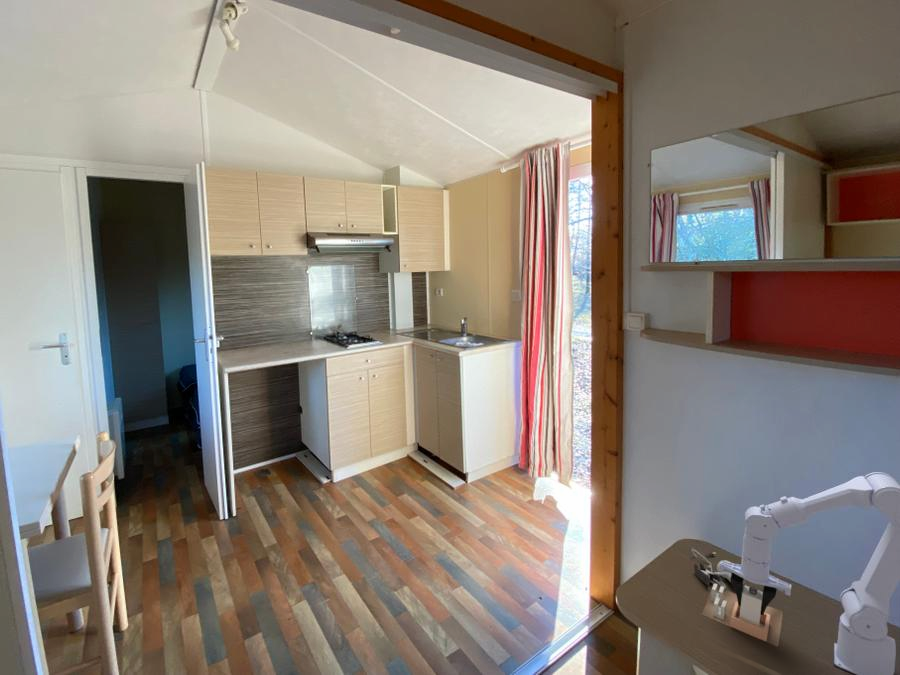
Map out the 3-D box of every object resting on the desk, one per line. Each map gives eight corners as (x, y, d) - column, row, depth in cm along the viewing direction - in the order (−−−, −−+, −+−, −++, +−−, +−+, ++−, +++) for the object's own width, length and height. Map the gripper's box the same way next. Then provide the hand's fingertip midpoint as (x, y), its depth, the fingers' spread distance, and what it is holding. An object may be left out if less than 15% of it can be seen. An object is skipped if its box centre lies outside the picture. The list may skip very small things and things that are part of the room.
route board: (783, 615, 117) (783, 611, 117) (777, 650, 105) (778, 646, 105) (712, 588, 127) (713, 585, 127) (701, 618, 116) (701, 614, 115)
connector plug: (760, 618, 112) (764, 588, 111) (758, 627, 109) (762, 597, 108) (741, 610, 114) (744, 581, 113) (739, 619, 111) (742, 589, 110)
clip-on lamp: (683, 566, 142) (705, 591, 125) (681, 545, 143) (702, 567, 125) (723, 566, 140) (751, 592, 123) (721, 545, 141) (748, 567, 123)
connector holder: (769, 623, 112) (770, 614, 112) (766, 641, 107) (767, 631, 106) (734, 610, 117) (735, 601, 117) (730, 626, 111) (730, 617, 111)
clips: (729, 601, 120) (730, 589, 120) (723, 620, 114) (724, 607, 113) (713, 594, 123) (714, 583, 122) (706, 612, 116) (707, 600, 116)
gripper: (794, 561, 108) (788, 613, 110) (724, 539, 118) (720, 587, 119) (792, 575, 103) (786, 629, 104) (719, 551, 112) (715, 601, 114)
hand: (751, 608), depth 111 cm, fingers closed on connector plug, 4 cm apart
